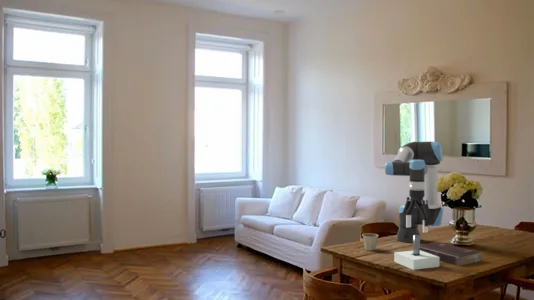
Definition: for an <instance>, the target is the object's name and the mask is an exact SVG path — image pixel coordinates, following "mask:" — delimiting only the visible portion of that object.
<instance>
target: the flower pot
mask: <svg viewBox="0 0 534 300" xmlns="http://www.w3.org/2000/svg"><path fill="white" fill-rule="evenodd" d="M361 236H362V238H363V244H364V245H363V246H364V250H366V251H373V250H374V251H376V249H377V241H378V237H379V234H377V233H362V234H361Z"/></svg>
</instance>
